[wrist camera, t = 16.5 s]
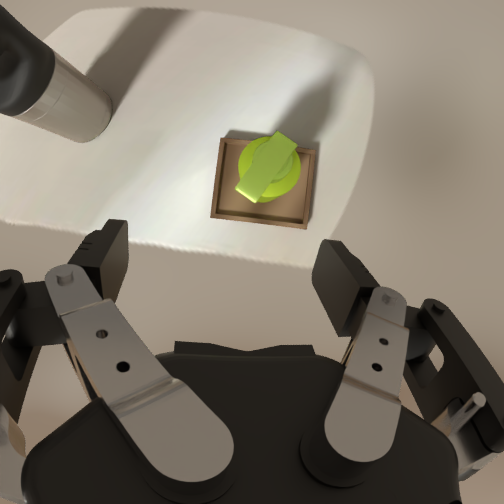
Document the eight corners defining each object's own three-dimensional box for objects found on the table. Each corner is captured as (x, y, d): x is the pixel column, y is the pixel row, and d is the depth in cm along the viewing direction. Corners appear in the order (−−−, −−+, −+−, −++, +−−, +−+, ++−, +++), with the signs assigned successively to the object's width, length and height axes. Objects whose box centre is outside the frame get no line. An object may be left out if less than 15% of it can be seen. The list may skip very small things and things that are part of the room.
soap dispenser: (227, 192, 41) (210, 172, 21) (257, 151, 40) (266, 99, 20) (263, 217, 41) (278, 220, 22) (292, 176, 41) (332, 144, 21)
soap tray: (211, 217, 42) (210, 217, 40) (221, 140, 41) (220, 137, 39) (303, 228, 43) (306, 229, 41) (312, 152, 42) (315, 150, 40)
